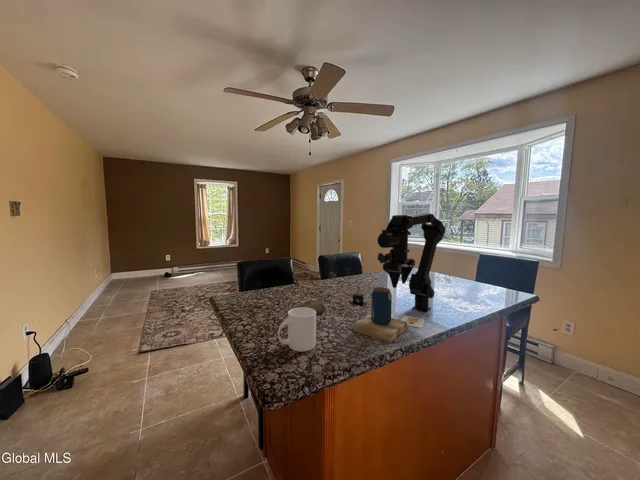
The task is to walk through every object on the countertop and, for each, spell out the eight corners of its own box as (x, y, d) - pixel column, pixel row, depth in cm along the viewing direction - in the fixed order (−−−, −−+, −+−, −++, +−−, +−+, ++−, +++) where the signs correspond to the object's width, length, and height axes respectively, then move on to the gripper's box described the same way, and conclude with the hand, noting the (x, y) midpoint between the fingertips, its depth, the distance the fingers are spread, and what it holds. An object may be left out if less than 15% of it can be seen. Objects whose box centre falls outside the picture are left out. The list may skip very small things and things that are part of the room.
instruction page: (404, 315, 106) (404, 315, 106) (425, 319, 102) (425, 318, 102) (398, 323, 98) (398, 323, 98) (421, 328, 94) (421, 327, 94)
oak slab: (372, 319, 102) (372, 313, 102) (407, 328, 93) (407, 321, 93) (353, 330, 91) (353, 323, 91) (390, 342, 82) (390, 334, 82)
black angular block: (373, 305, 121) (373, 295, 121) (364, 308, 116) (364, 298, 116) (352, 299, 130) (352, 290, 130) (342, 302, 125) (342, 293, 125)
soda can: (395, 322, 92) (395, 289, 91) (383, 328, 87) (383, 293, 87) (378, 317, 97) (379, 285, 96) (367, 322, 93) (367, 288, 92)
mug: (273, 344, 81) (273, 311, 80) (309, 337, 86) (309, 305, 85) (282, 357, 73) (282, 320, 72) (320, 348, 78) (320, 313, 78)
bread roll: (312, 318, 103) (312, 306, 103) (290, 312, 111) (290, 300, 110) (331, 310, 113) (331, 299, 113) (309, 305, 121) (309, 294, 120)
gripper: (390, 244, 115) (389, 278, 116) (370, 247, 101) (369, 286, 102) (416, 245, 108) (414, 282, 109) (398, 249, 94) (397, 291, 95)
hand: (399, 285), depth 104 cm, fingers open, 9 cm apart
